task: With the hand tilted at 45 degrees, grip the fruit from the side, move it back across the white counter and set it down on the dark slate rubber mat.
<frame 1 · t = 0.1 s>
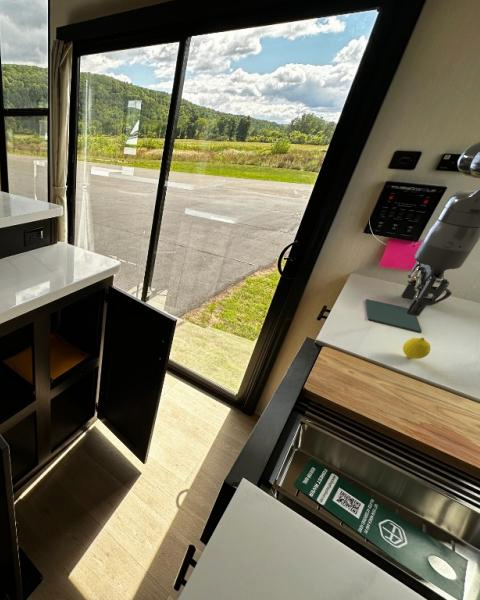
hand: (409, 305, 76), 25 cm above the countertop, tool pointing down, fingers open, 8 cm apart
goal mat: (391, 315, 115), on the countertop
fruit: (409, 358, 96), on the countertop
mug: (423, 304, 121), on the countertop
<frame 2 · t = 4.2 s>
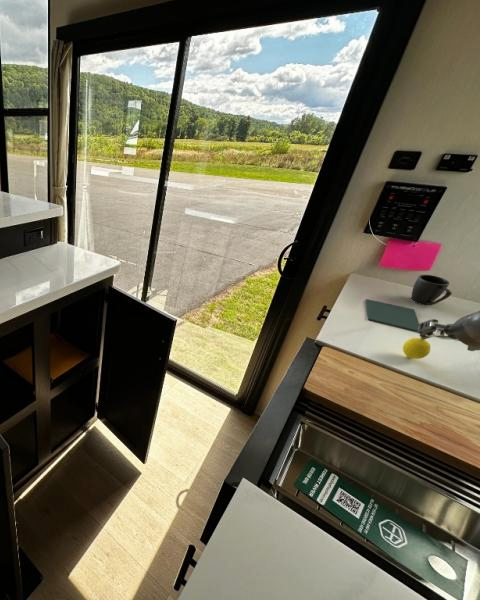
hand: (446, 341, 81), 15 cm above the countertop, tool tilted 45°, fingers open, 8 cm apart
nothing on the countertop moved.
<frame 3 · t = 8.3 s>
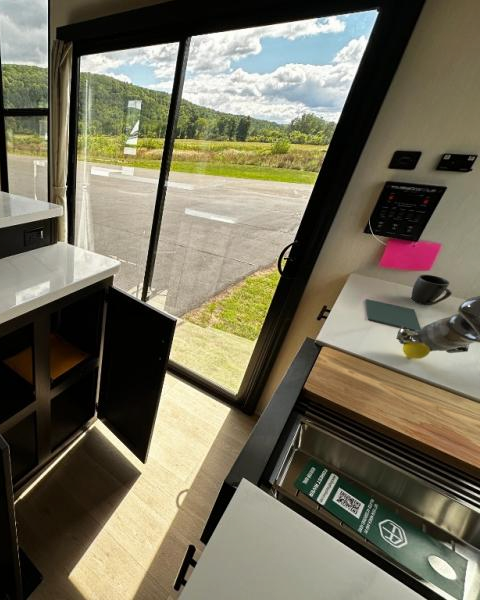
hand: (415, 344, 95), 4 cm above the countertop, tool tilted 45°, fingers closed on fruit, 5 cm apart
fruit: (409, 358, 96), on the countertop, touching gripper
everything else where it was.
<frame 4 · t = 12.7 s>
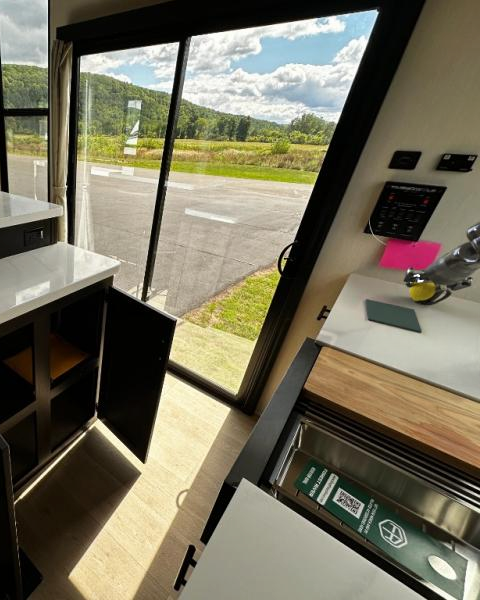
hand: (421, 287, 101), 16 cm above the countertop, tool tilted 45°, fingers closed on fruit, 5 cm apart
fruit: (415, 301, 102), point 12 cm above the countertop, touching gripper
everything else where it was.
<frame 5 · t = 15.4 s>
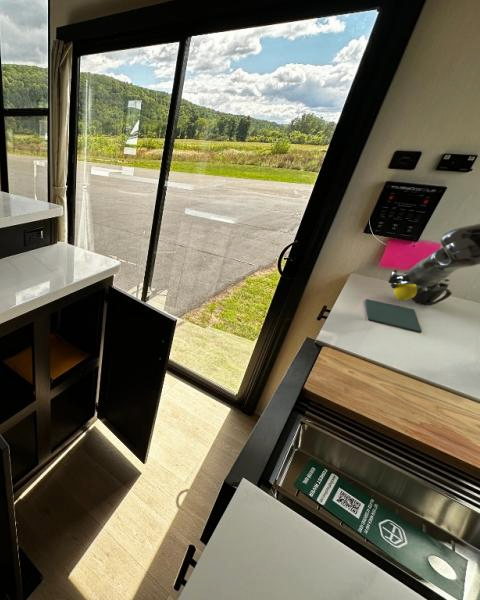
hand: (405, 288, 111), 11 cm above the countertop, tool tilted 45°, fingers closed on fruit, 5 cm apart
fruit: (399, 300, 112), point 6 cm above the countertop, touching gripper
everything else where it was.
when the fingers open (5 cm above the countertop, at t = 17.5 s): fruit stays where it is, resting on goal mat.
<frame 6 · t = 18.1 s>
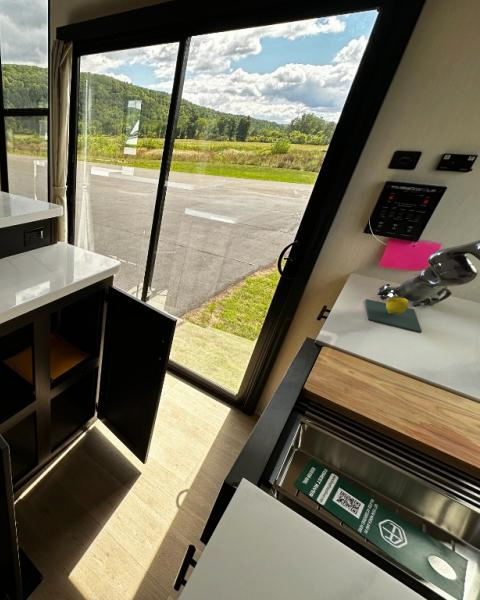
hand: (398, 300, 113), 6 cm above the countertop, tool tilted 45°, fingers open, 8 cm apart
fruit: (391, 314, 115), resting on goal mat
everything else where it was.
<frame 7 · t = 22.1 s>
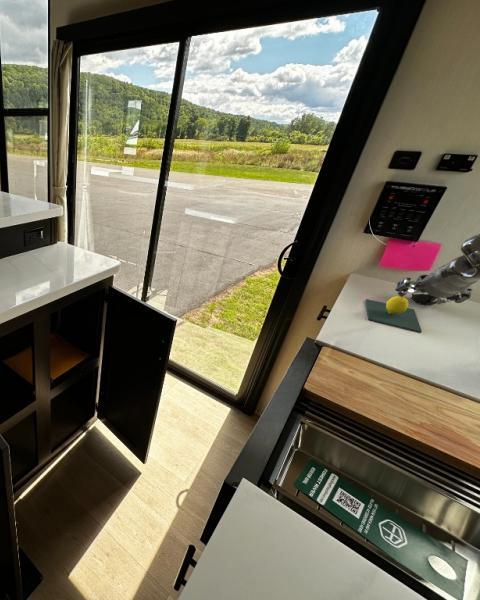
hand: (419, 297, 98), 15 cm above the countertop, tool tilted 45°, fingers open, 8 cm apart
nothing on the countertop moved.
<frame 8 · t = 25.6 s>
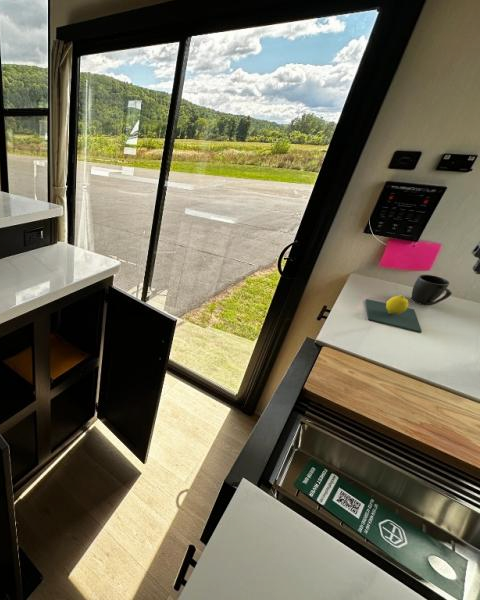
nothing on the countertop moved.
at the end: fruit inside the target area on the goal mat (0.2 cm from its centre), point 0.4 cm above the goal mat's base; fruit moved 25.9 cm from its start; the gripper is holding nothing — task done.
